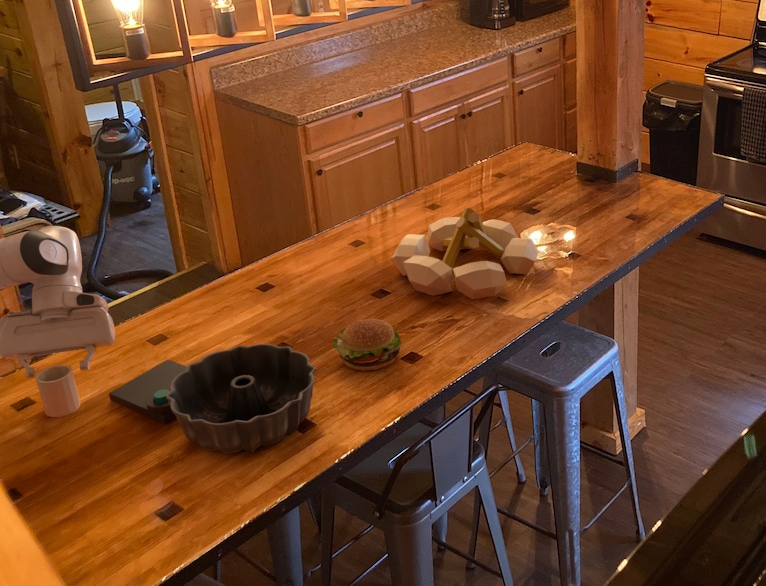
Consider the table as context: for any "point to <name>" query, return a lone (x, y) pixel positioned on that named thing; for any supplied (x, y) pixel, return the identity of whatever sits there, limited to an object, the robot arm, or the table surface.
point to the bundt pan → (243, 397)
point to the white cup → (58, 390)
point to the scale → (149, 392)
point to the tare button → (160, 396)
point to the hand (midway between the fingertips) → (58, 373)
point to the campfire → (451, 238)
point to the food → (368, 344)
